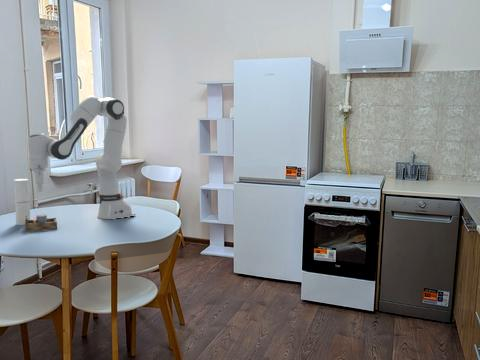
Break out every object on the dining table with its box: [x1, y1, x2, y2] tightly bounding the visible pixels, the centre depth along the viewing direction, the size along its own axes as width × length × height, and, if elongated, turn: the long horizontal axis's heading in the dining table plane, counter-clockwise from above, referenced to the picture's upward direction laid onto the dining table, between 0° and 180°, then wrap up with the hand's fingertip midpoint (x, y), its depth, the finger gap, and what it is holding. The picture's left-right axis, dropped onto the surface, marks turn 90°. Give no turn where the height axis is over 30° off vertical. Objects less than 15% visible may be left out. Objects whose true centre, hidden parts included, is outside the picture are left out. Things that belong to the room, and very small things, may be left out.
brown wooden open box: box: [24, 216, 58, 233], centre depth 220 cm, size 15×10×7 cm, turn 117°
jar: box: [35, 213, 48, 223], centre depth 220 cm, size 5×5×6 cm
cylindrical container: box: [13, 178, 31, 226], centre depth 228 cm, size 7×7×25 cm
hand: (40, 189), depth 218 cm, fingers open, 8 cm apart
